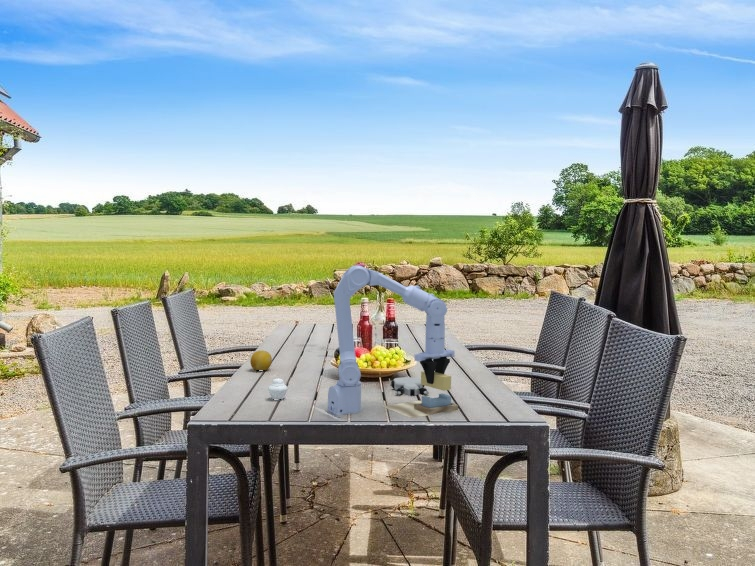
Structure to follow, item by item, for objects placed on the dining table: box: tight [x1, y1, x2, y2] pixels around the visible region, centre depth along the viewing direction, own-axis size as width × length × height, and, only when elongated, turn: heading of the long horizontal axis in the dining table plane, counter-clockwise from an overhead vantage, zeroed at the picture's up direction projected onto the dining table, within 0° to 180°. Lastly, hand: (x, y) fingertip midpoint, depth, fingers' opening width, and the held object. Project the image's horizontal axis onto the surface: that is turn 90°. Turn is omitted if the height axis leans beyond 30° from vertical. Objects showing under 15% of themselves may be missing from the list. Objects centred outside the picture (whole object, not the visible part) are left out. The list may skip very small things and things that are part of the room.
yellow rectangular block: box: [420, 370, 452, 391], centre depth 189 cm, size 10×3×4 cm, turn 38°
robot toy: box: [388, 376, 430, 397], centre depth 213 cm, size 12×4×15 cm
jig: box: [381, 399, 460, 419], centre depth 190 cm, size 18×16×2 cm
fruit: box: [250, 350, 273, 371], centre depth 251 cm, size 9×8×8 cm
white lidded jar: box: [268, 377, 288, 401], centre depth 204 cm, size 6×6×7 cm
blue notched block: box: [421, 392, 452, 408], centre depth 189 cm, size 8×4×4 cm, turn 123°
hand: (434, 382), depth 189 cm, fingers closed on yellow rectangular block, 3 cm apart
